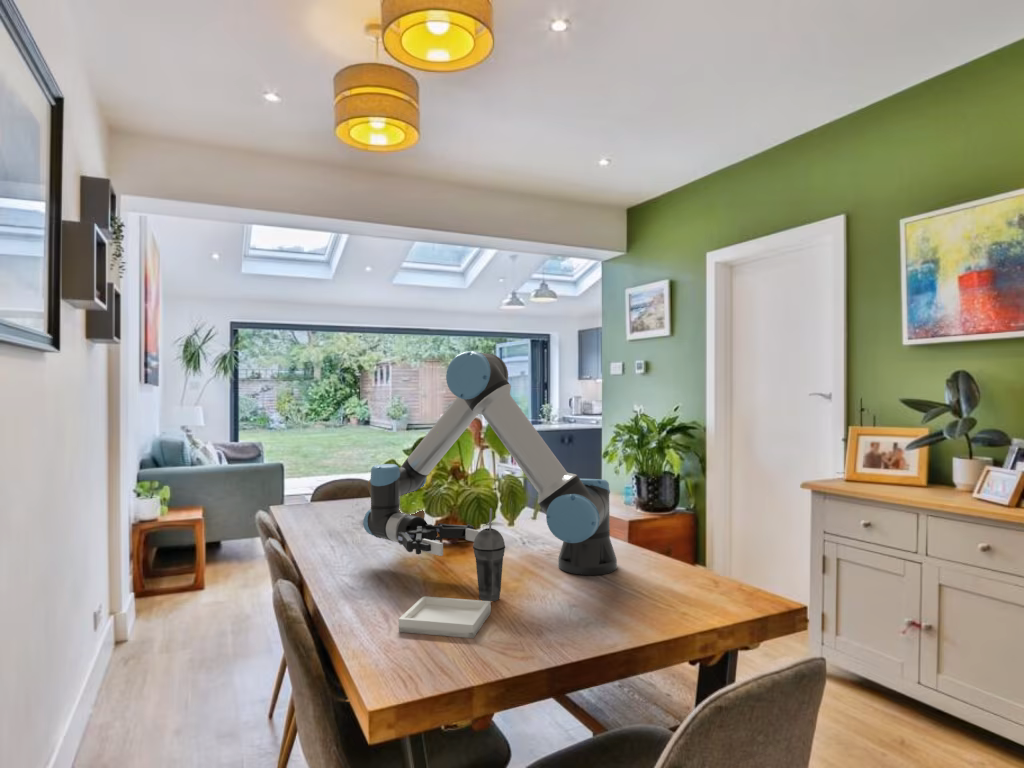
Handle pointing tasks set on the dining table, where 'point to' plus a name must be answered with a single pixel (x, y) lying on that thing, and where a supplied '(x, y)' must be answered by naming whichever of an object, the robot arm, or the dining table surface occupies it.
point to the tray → (445, 617)
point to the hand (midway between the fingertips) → (464, 543)
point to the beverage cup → (489, 562)
